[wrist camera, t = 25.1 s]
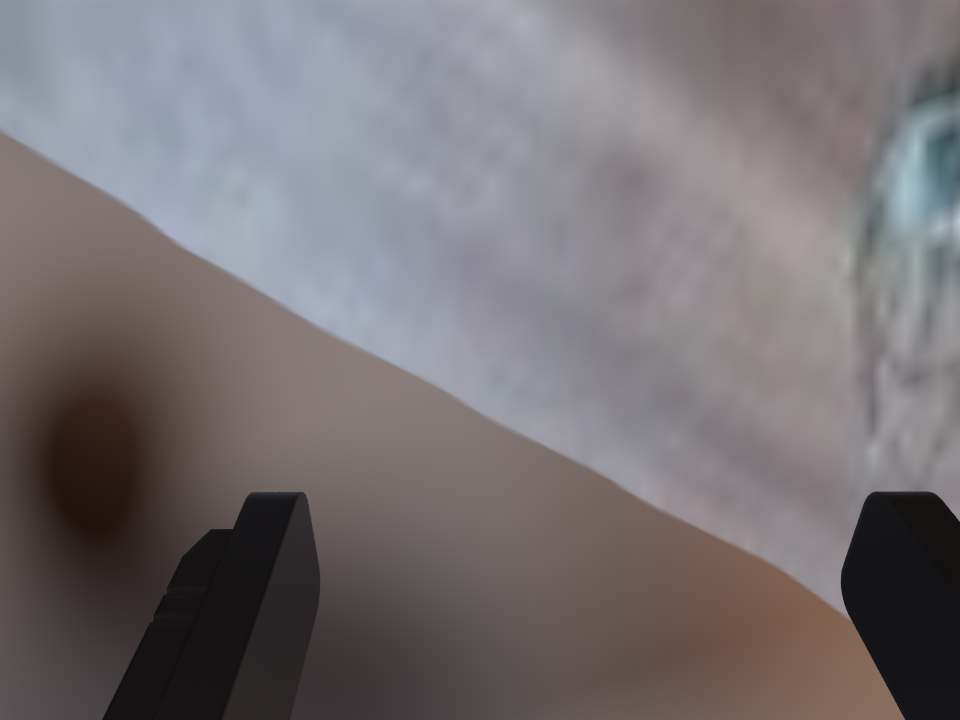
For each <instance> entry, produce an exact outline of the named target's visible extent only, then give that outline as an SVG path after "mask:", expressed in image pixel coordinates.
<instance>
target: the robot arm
mask: <svg viewBox="0 0 960 720" xmlns="http://www.w3.org/2000/svg"><path fill="white" fill-rule="evenodd" d="M841 590H842V596H843V600H844V604H845V607H846V610H847V612H848V614H849V616H850V618H851V620H852V622H853V624H854V625H855V627H856V629H857V631H858V633H859V635H860V637H861V638H862V640H863V642H864V644H865V646H866V647H867V650H868V651H869V653H870V655H871V657H872V659H873V661H874V662H875V664H876V666H877V668H878V670H879V672H880V674H881V675H882V677H883V679H884V681H885V683H886V685H887V687H888V689H889V690H890V692H891V694H892V696H893V698H894V700H895V702H896V703H897V705H898V707H899V709H900V711H901V713H902V715H903V716H904V718H905V720H960V521H959V520H958V519H957V518H956V516H955V515H954V514H953V513H952V512H951V510H950V509H949V508H948V507H947V505H946V504H945V503H944V502H943V501H942V500H941V498H940V497H938V496H937V495H936V494H934V493H932V492H873V493H871V494H870V495H869V496H868V497H867V498H866V500H865V502H864V505H863V508H862V511H861V514H860V517H859V520H858V523H857V526H856V529H855V532H854V535H853V538H852V541H851V544H850V547H849V550H848V552H847V555H846V558H845V561H844V564H843V568H842V573H841ZM319 594H320V570H319V564H318V557H317V551H316V546H315V540H314V534H313V528H312V523H311V516H310V510H309V504H308V500H307V497H306V495H305V493H303V492H252V493H250V494H249V495H248V497H247V498H246V500H245V502H244V505H243V507H242V509H241V511H240V514H239V516H238V519H237V521H236V523H235V526H234V528H233V529H211V530H210V531H209V532H208V533H207V534H206V535H204V536H203V537H202V538H201V540H199V541H198V542H197V543H196V544H195V545H194V546H193V547H192V548H191V549H190V550H189V551H188V552H187V553H186V554H185V555H184V556H183V557H182V559H181V561H180V563H179V565H178V567H177V569H176V571H175V573H174V576H173V577H172V579H171V581H170V583H169V585H168V587H167V594H166V595H164V596H163V598H162V600H161V602H160V604H159V606H158V608H157V610H156V612H155V614H154V621H153V622H151V623H150V624H149V626H148V628H147V630H146V632H145V634H144V637H143V638H142V640H141V642H140V644H139V646H138V648H137V650H136V652H135V654H134V657H133V658H132V660H131V662H130V664H129V667H128V669H127V671H126V673H125V675H124V677H123V679H122V681H121V683H120V685H119V687H118V689H117V691H116V693H115V695H114V697H113V699H112V701H111V703H110V705H109V707H108V709H107V711H106V713H105V715H104V718H103V719H102V720H290V717H291V713H292V709H293V705H294V701H295V697H296V693H297V689H298V685H299V681H300V677H301V674H302V669H303V666H304V662H305V658H306V654H307V650H308V646H309V642H310V638H311V634H312V630H313V626H314V622H315V618H316V614H317V609H318V603H319Z"/></svg>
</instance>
